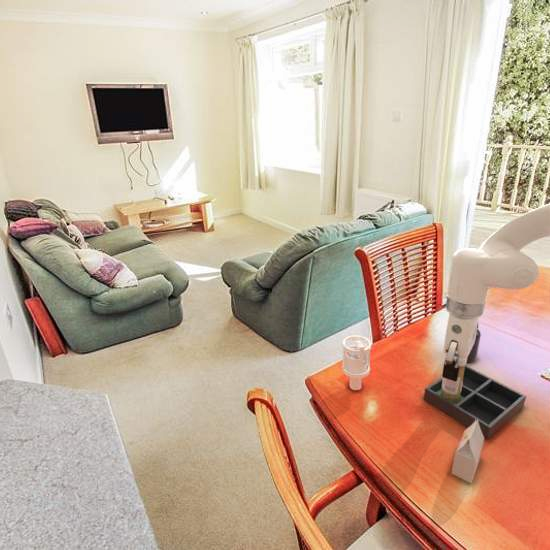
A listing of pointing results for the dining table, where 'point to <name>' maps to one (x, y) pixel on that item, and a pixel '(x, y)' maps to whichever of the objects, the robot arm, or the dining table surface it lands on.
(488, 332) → the dining table surface
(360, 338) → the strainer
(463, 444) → the white gable-top carton
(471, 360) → the supplement bottle
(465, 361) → the sprinkles bottle
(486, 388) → the rack
